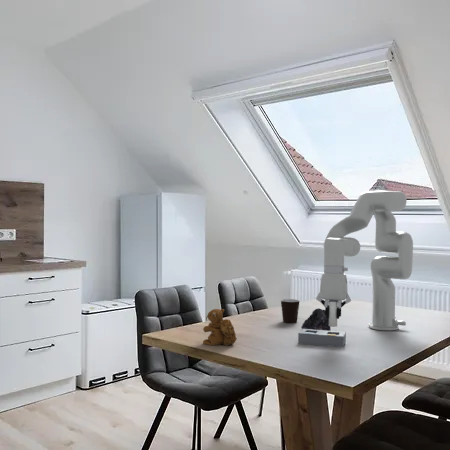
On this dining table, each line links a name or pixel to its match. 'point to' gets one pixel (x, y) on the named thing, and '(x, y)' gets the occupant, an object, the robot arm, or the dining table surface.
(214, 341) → the stuffed squirrel
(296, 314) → the coffee mug
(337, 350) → the dining table surface
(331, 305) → the plug
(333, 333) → the socket block
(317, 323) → the black rock
